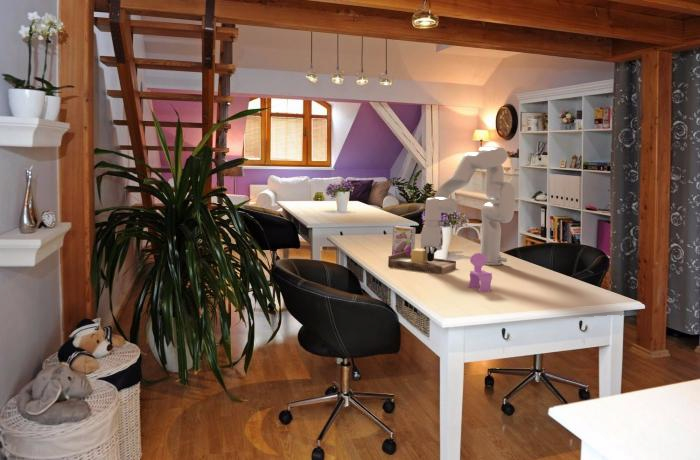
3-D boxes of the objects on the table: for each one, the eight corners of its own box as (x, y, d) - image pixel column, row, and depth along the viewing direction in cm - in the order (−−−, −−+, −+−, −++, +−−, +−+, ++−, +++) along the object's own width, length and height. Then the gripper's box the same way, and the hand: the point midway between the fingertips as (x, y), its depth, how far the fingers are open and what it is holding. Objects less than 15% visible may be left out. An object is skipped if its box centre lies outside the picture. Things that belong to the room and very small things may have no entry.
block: (427, 261, 297) (428, 249, 297) (422, 263, 292) (422, 251, 292) (416, 260, 301) (416, 248, 300) (411, 262, 295) (411, 250, 295)
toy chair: (476, 292, 248) (479, 256, 246) (465, 287, 256) (467, 252, 254) (493, 291, 251) (496, 255, 249) (481, 286, 259) (483, 252, 257)
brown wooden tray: (455, 268, 297) (456, 258, 296) (441, 274, 282) (441, 263, 281) (404, 260, 311) (405, 251, 311) (388, 266, 296) (388, 256, 295)
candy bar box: (391, 257, 321) (392, 226, 319) (395, 255, 326) (397, 225, 323) (410, 259, 316) (411, 228, 313) (414, 258, 320) (415, 227, 318)
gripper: (449, 224, 290) (447, 261, 293) (421, 221, 298) (419, 258, 300) (443, 225, 284) (441, 264, 286) (415, 222, 292) (413, 260, 294)
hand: (430, 260), depth 293 cm, fingers closed
